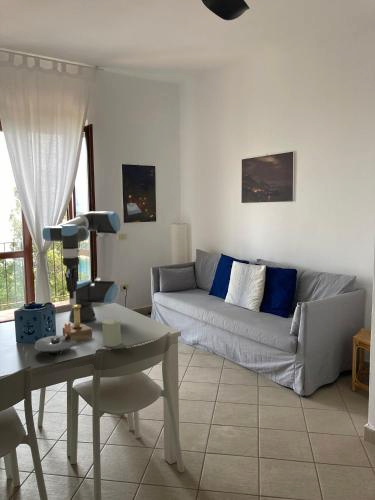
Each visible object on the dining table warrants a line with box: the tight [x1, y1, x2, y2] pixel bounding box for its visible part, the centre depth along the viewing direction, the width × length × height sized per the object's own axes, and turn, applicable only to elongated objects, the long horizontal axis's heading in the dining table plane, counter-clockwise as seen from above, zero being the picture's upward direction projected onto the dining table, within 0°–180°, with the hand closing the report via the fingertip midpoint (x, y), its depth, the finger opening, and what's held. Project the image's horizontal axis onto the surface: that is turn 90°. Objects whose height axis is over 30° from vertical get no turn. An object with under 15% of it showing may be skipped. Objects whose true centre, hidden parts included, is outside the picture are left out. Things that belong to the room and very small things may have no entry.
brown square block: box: [62, 323, 93, 343], centre depth 211 cm, size 11×11×5 cm
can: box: [101, 318, 122, 348], centre depth 202 cm, size 9×9×12 cm
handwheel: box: [34, 322, 76, 353], centre depth 190 cm, size 18×18×8 cm
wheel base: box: [48, 351, 63, 355], centre depth 191 cm, size 6×6×3 cm
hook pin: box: [71, 304, 81, 330], centre depth 210 cm, size 4×4×17 cm
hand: (72, 304), depth 199 cm, fingers closed
